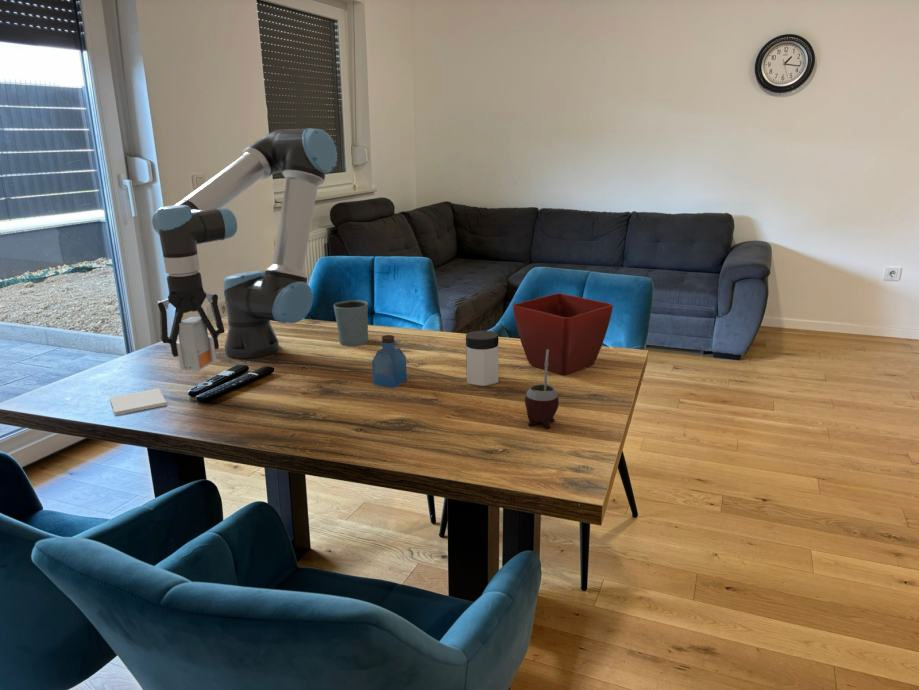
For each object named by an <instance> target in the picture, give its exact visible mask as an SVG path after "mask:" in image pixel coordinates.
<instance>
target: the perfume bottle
mask: <svg viewBox="0 0 919 690" xmlns="http://www.w3.org/2000/svg"><path fill="white" fill-rule="evenodd" d="M380 342H381V344H380V346H381V347H382V348H380V349H378V350H377V351H376V353H375V355H374V357H373V358H372V360H371V366H372V368H371V369H372V370H371V371H372V385H374V386H379V387H386V388H394V389H395V388H397V387H399V386H400V385H401V384H403V383H405V382H406V381H407V380H408V378H407V377H408V372H407V356H406V355H405V354H404V352H403V351H402V349H401V348H400V347H395V346H396V340H395V335H391V334H385V335H382V336H381V341H380Z"/></svg>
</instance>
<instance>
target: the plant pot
mask: <svg viewBox="0 0 919 690" xmlns="http://www.w3.org/2000/svg"><path fill="white" fill-rule="evenodd" d="M512 308H513V309H512V310H513V314H514V316H513V317H514V321H515V325H516V329H517V333H518V336H519V340H520V342H521V346H522V348H523V351H524V354H525V357H526V360H527V362H528V363H529V365H530V366H533V367H536V368H539V369H542V370H545V367H544V366H545V360H546V350H547V349H549V356H548V370H547V372H552V373H555V374H558V375H562V376H566V375H569V374H571V373H572V374H573V373H574V372H577V371H581V370H582V369H586V368H588V367H590V366H594V364H595V362H596V360H597V357H598V356H599V353H600V351H601V348H602V347H603V344H604V340H605V337H606V335H607V332H608V328H609V325H610V321H611V318H612V312H613V308H614V304H613V303H609V302H604V301H599V300H595V299H589V298H585V297H581V296H576V295H571V294H568V293H567V294H566V293H561V292H560V293H559V292H558V293H554V294H549V295H545V296H541V297H537V298H533V299H529V300H525V301H522V302H517V303H513V305H512Z"/></svg>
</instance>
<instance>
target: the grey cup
mask: <svg viewBox="0 0 919 690" xmlns="http://www.w3.org/2000/svg"><path fill="white" fill-rule="evenodd" d="M368 305H369V303H368V302H367V301H366V300H360V299H358V300H357V299H356V300H355V299H354V300H353V299H352V300H344V301H340V302H335V303H334V304H333V311H334V316H335V321H336V327H337V331H338V334H337V335H338V341H339V343H340V345H341V346H343V347H344V346H345V347H358V346H364V345H367V344H368V343H369V321H368V317H369V316H368V311H369V308H368V307H369V306H368Z"/></svg>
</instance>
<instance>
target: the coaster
mask: <svg viewBox="0 0 919 690" xmlns="http://www.w3.org/2000/svg"><path fill="white" fill-rule="evenodd" d="M109 401H110V404H111V408H112V407H113V408H112V411H113V413H114V416H119V415H118V414H120V415H123V414H122V413H125V414H129V412H130V413H135V412H139V410H140V411H144V409H145V410H150V409H154V408H159V407H164V406H167V405H168V404H167V400H166V399H165V397H164V395H163V393H162V391H161V389H160V388H152V389H147V390H142V391H135V392H130V393H125V394H120V395H115V396H110V397H109ZM134 411H135V412H134Z"/></svg>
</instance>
